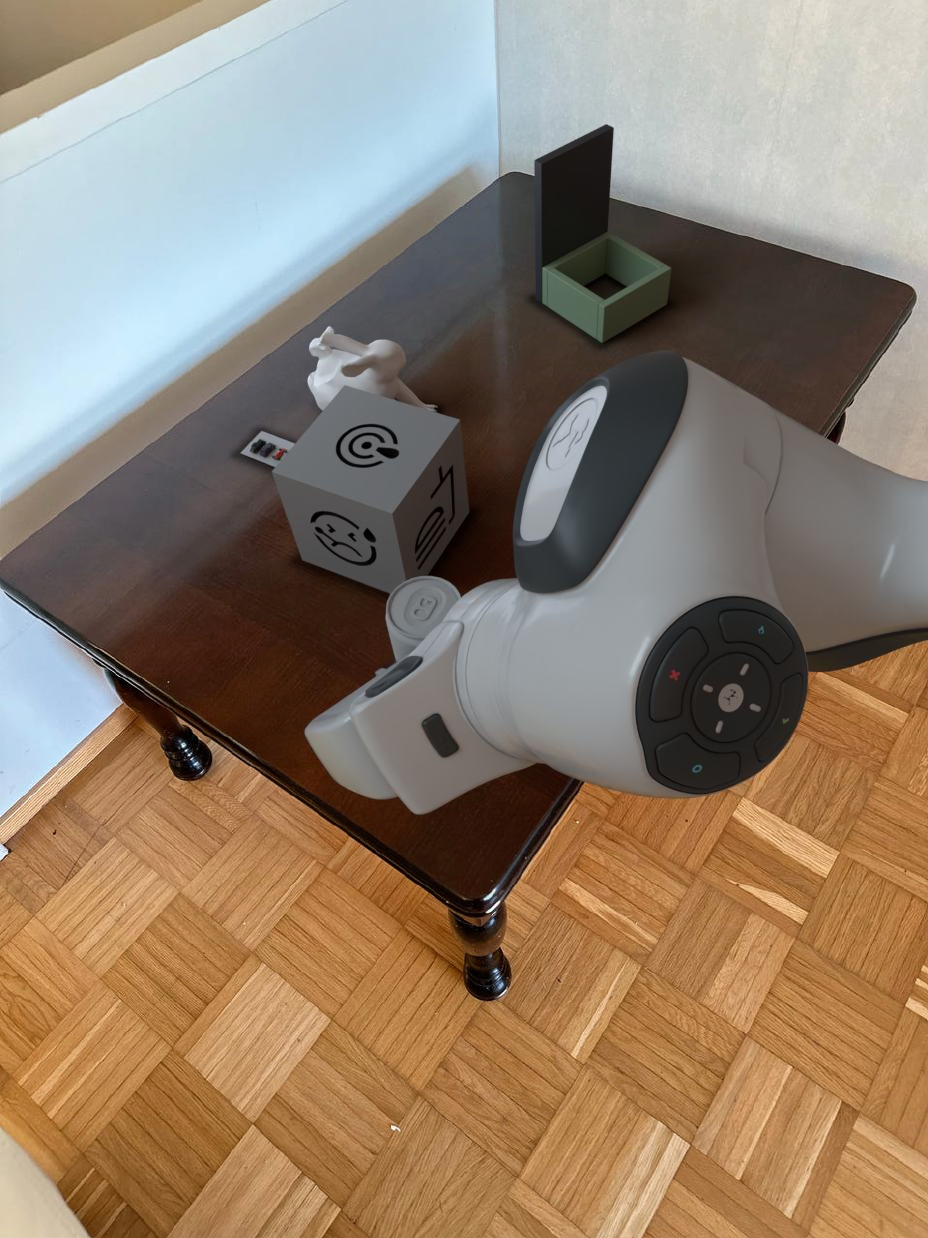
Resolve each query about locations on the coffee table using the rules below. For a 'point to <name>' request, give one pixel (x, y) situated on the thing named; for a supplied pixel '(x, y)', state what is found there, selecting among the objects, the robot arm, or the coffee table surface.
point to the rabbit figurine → (358, 369)
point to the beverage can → (417, 611)
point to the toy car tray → (268, 448)
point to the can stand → (589, 242)
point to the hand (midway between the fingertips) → (427, 651)
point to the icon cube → (375, 488)
